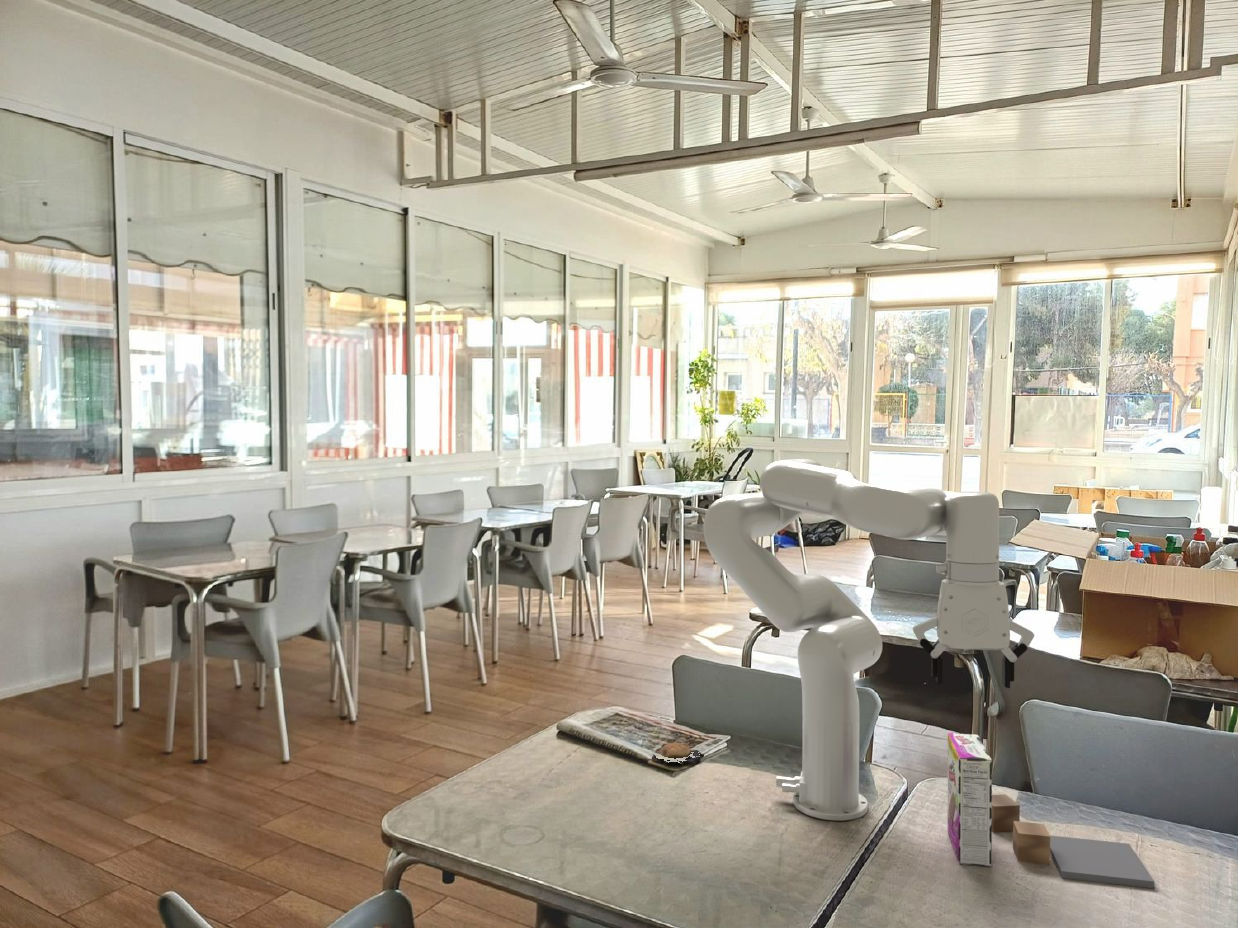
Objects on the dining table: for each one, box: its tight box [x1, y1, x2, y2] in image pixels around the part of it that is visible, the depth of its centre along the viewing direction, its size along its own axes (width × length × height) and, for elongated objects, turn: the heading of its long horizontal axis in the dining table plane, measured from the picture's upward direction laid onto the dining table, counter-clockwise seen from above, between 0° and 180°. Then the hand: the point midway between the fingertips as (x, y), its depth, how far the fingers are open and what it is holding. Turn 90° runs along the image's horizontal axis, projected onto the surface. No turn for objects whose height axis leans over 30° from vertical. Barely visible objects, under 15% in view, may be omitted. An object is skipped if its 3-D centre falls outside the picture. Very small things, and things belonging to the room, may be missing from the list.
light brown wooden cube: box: [1012, 821, 1051, 866], centre depth 136 cm, size 4×4×4 cm
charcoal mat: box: [1049, 834, 1155, 889], centre depth 133 cm, size 12×12×1 cm
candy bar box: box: [947, 732, 993, 868], centre depth 138 cm, size 11×5×16 cm, turn 168°
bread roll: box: [647, 742, 705, 773], centre depth 176 cm, size 11×8×4 cm
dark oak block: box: [992, 793, 1021, 834], centre depth 146 cm, size 4×4×4 cm
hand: (972, 683), depth 137 cm, fingers open, 9 cm apart
